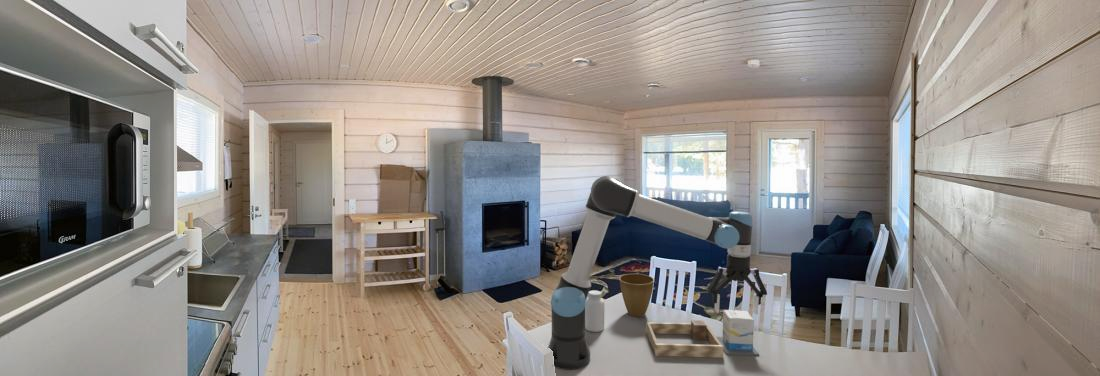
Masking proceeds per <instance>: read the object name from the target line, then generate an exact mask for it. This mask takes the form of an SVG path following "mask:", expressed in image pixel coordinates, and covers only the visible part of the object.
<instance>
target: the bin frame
mask: <svg viewBox="0 0 1100 376" xmlns="http://www.w3.org/2000/svg"><path fill="white" fill-rule="evenodd" d="M705 324H706V325H707V334H706V340H707V341H708V342H709V344H696V343H695V344H693V343H688V344H687V343H658V340H657V337H656V335H655V334H661V335H662V334H664V335H665V334H666V335H667V334H668V335H691V322H652V321H651V322H649V321H648V322H646V334H647V337H648V339H649V342H650V344H651V347H652V350H653V352H654V355H655V356H657V357H689V358H720V359H721V358H724V350H723V345H722V344H721V343H720V341H719V340H718V339H717V337H718V336H716V335H715V333H714V332H713V330H712V329H711V328H710V327H709V325H708V324H707V323H705Z"/></svg>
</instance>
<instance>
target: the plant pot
mask: <svg viewBox="0 0 1100 376" xmlns="http://www.w3.org/2000/svg"><path fill="white" fill-rule="evenodd" d="M654 283H655V278H653V277H652V276H650V275H647V274H643V273H627V274H626V273H625V274H622V275H620V276H619V285H620V291H621V296H622V299H623V302H624V306H625V308H626V309H625V310H626V311H627V314H628V315H629V316H632V317H634V318H640V317H641V318H642V317H644V316H645V315H646V313H647V310H648V307H649V304H650V301H651V298H652V294H653V289H654Z"/></svg>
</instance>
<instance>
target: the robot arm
mask: <svg viewBox="0 0 1100 376" xmlns="http://www.w3.org/2000/svg"><path fill="white" fill-rule="evenodd" d="M585 208H586V211H587V214H586V217H585V219H584V223H583V226H582V229H581V231H580V233H579V237H578V240H577V242H576V245H575V247H574V252H573V254H572V256H571V260H570V263H569V266H568V268H567V271H566V272H563V273H562V274H561V277H560V279H559V283H558V285H557V286H556V288H555V290H554V291H553V292H552V295H551V299H550V306H551V338H550V341H549V342H548V343H549V344H548V347H547V349H548V348H550V349H551V350H552V351H553V356H554V365H555V366H554V367H555V368H559V369H563V370H576V369H581V368H583V367H585V366H587V365H588V364H589V363H590V362H591V351H590V347H589V344H588V342H587V338H586V329H585V305H586V299H587V298H588V293H589V291H591V290H590V289H591V287H592V283H591V281H590V278H591V275H592V271H593V269H594V266H595V264H596V261H597V257H598V255H599V252H600V250H601V248H602V247H601V246H602V244H603V241H604V238H605V235H606V233H607V230H608V227H609V224H610V221H611V220H613V219H615V218H616V217H617V215H619V216H622V217H624V218H625V217H626V218H629V217H635V218H638V219H641V220H643V221H646V222H649V223H653V224H656V225H658V226H661V227H664V228H667V229H670V230H674V231H676V232H679V233H683V234H686V235H689V236H692V237H694V238H698V239H701V240H704V241H706V242H709V243H712V244H714V245H717V246H718V247H720V248H722V249H727V253H728V254H727V257H726V267H721V266H717V269H716V273H715V275H714V277H712V279H711V282H710V283H709V285H708V287H707V288H706V290H707V292H708V293H710V294H712V295H711V296H712V297H711V298H712V300H711V301H712V303H714V308H713V310H714V312H716V313H717V314H719V313H720V299H721V296H720V292H721V291H723V289H724V288H725V287H726V286H727V285H728V284H729V283H731V282H732V281H734V282H739V281H740V282H743V281H745V282H746V283H747V284H748V286H749V287H750V288H751V289H752V291H753V292H754V293H755V294H754V293H753V295H752V297H753V298H752V313H754V314H755V315H759V306H761V303H762V298H763V297H764V295H765V296H767V295H768V292H767V290H766V287H765V285H764V283H763V281H762V279H761V276H760V270H759V269H758V268H756V267H752V268H751V267H750V266H751V252H752V236H753V235H752V233H753V215H752V214H751V213H749V212H745V211H731V212H729V215H728V216H727V217H720V216H719V217H718V216H717V217H716V216H705V215H701V214H699V213H696V212H693V211H690V210H688V209H684V208H681V207H678V206H675V205H672V204H669V203H666V202H663V201H660V200H657V199H655V198H652V197H648V196H645V195H643V194H640V193H639V192H638V190H637V189H635V188H631V187H629V186H628V185H625V184H624V183H622V182H621V181H620V180H619V179H618V178H616V177H613V176H610V175H604V176H600V177H599V178H596V180H595V181H594V182H593V183H592V186H591V187H590V193H589V195H588V199H587V202H586V204H585ZM725 273H726V275H724V274H725ZM750 274H752V276H753V277H754V280H755V282H756V284H757V286H758V287H757V286H756V285H755V284H754V283H753V281H752V280H751V279H750V277H749V275H750ZM723 275H724V278H723V279H722V277H723ZM721 279H722V280H721ZM720 280H721V281H720Z"/></svg>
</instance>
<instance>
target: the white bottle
mask: <svg viewBox="0 0 1100 376" xmlns="http://www.w3.org/2000/svg"><path fill="white" fill-rule="evenodd" d="M602 295H603V294H602V291H599V290H594V289H593V290H589V293H588V296H587V298H586V305H585V331H588V332H592V333H593V332H594V333H598V332H602V331H603V330H605V300H604V299H603V298H602Z"/></svg>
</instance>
